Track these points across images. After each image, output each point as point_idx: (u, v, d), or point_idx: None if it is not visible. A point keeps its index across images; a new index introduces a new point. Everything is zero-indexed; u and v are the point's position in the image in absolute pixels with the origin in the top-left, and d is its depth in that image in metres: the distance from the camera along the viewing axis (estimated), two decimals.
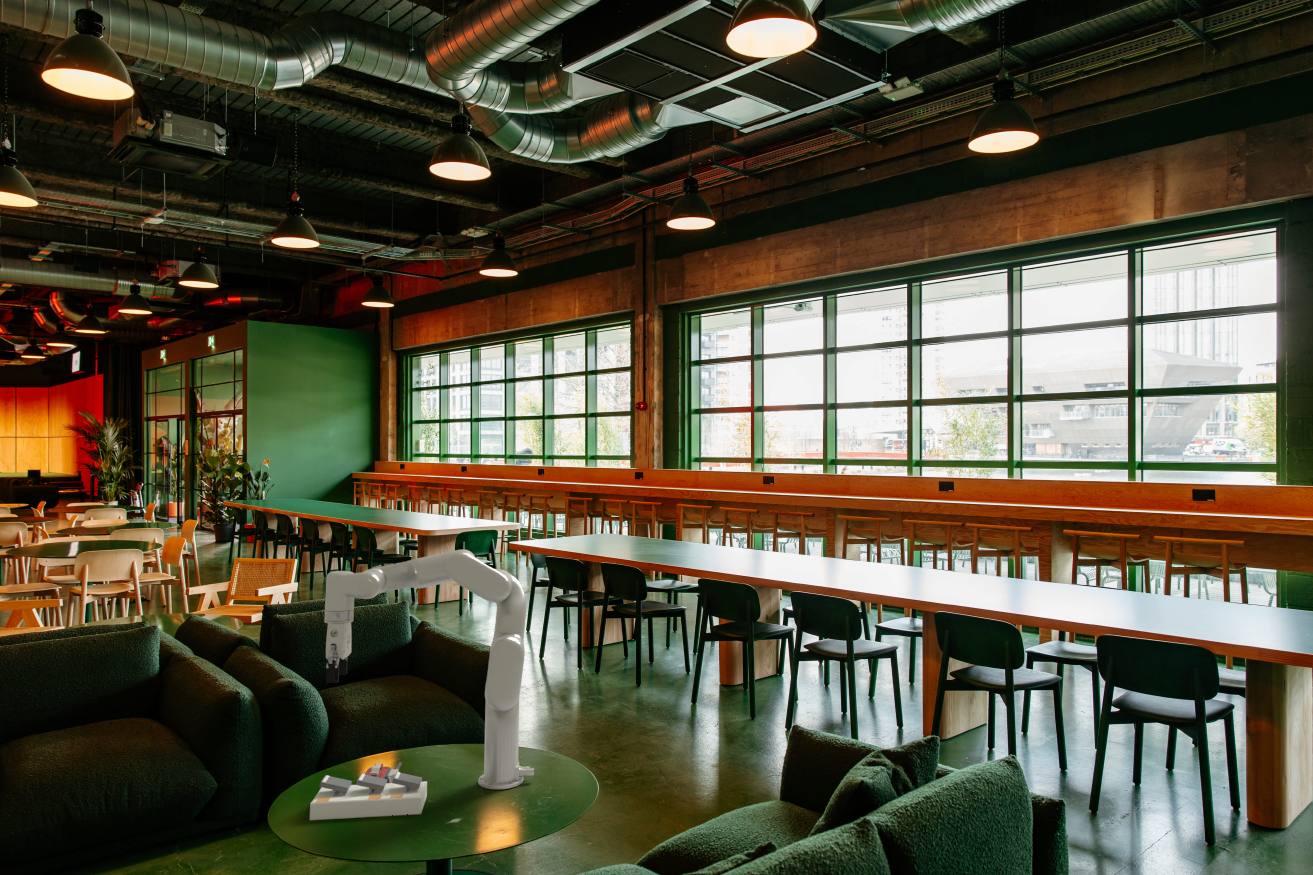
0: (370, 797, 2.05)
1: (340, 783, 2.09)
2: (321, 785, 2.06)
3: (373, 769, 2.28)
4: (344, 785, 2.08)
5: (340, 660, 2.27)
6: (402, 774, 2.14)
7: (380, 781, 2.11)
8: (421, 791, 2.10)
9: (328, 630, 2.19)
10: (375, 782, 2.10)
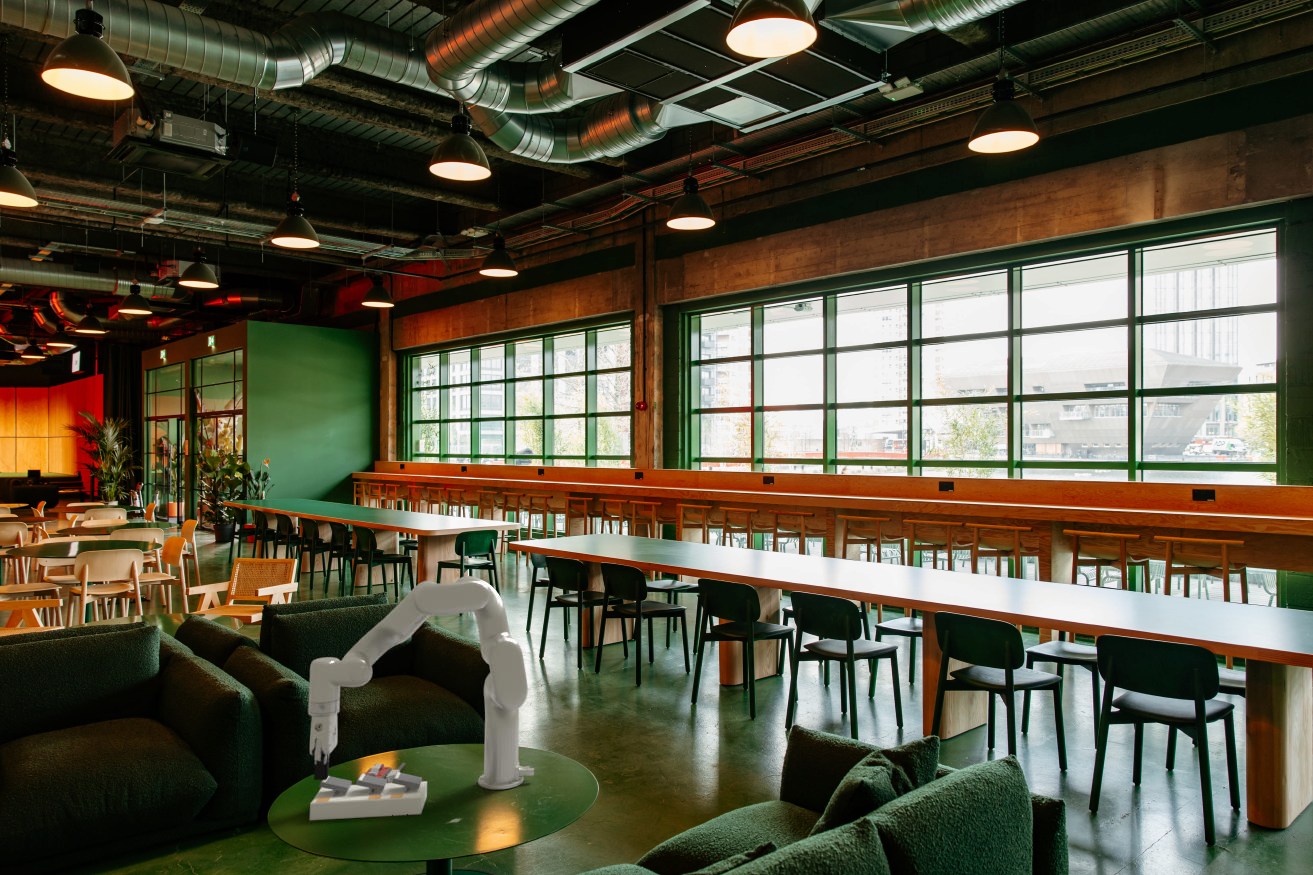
0: (370, 797, 2.05)
1: (340, 783, 2.09)
2: (321, 785, 2.06)
3: (372, 769, 2.27)
4: (344, 785, 2.08)
5: None
6: (402, 774, 2.14)
7: (380, 781, 2.11)
8: (421, 791, 2.10)
9: (312, 723, 2.05)
10: (375, 782, 2.10)
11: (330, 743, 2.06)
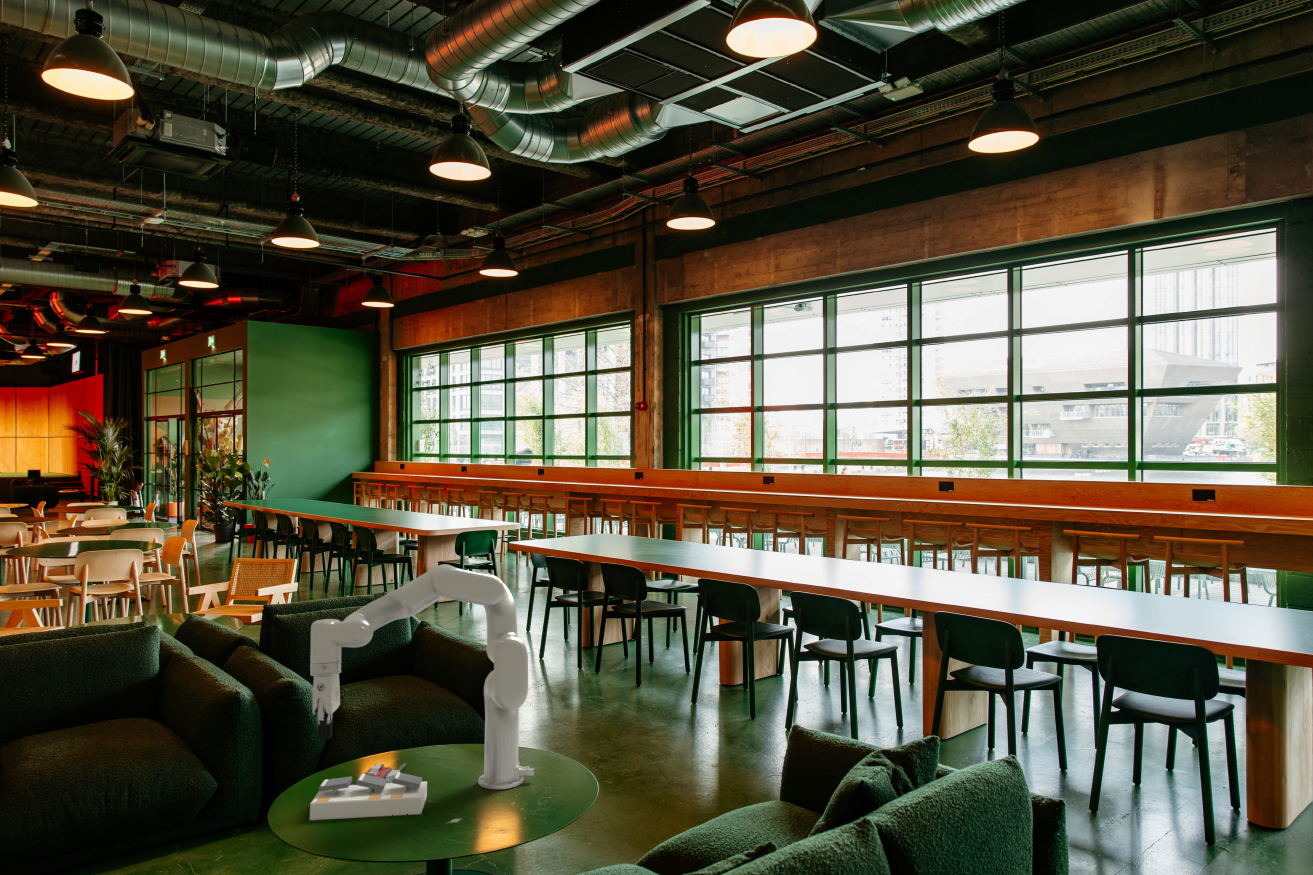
0: (370, 797, 2.05)
1: (340, 781, 2.09)
2: (321, 789, 2.06)
3: (372, 769, 2.27)
4: (344, 782, 2.08)
5: None
6: (402, 774, 2.14)
7: (380, 781, 2.11)
8: (421, 791, 2.10)
9: (314, 684, 2.06)
10: (375, 782, 2.10)
11: (333, 703, 2.07)
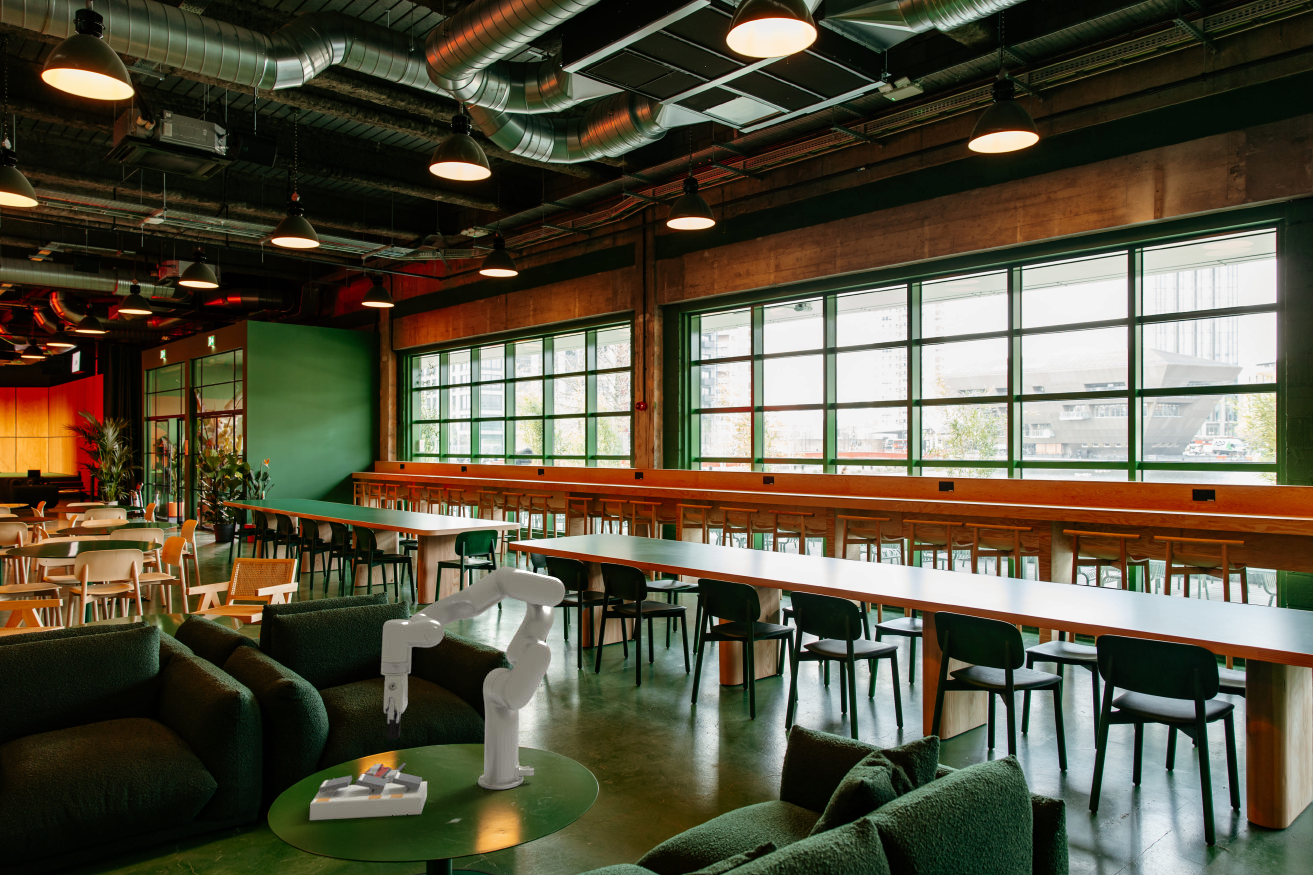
0: (370, 797, 2.05)
1: (340, 781, 2.09)
2: (321, 790, 2.06)
3: (371, 769, 2.27)
4: (343, 781, 2.08)
5: None
6: (402, 774, 2.14)
7: (380, 781, 2.11)
8: (421, 791, 2.10)
9: (386, 683, 2.09)
10: (375, 782, 2.10)
11: (403, 702, 2.10)
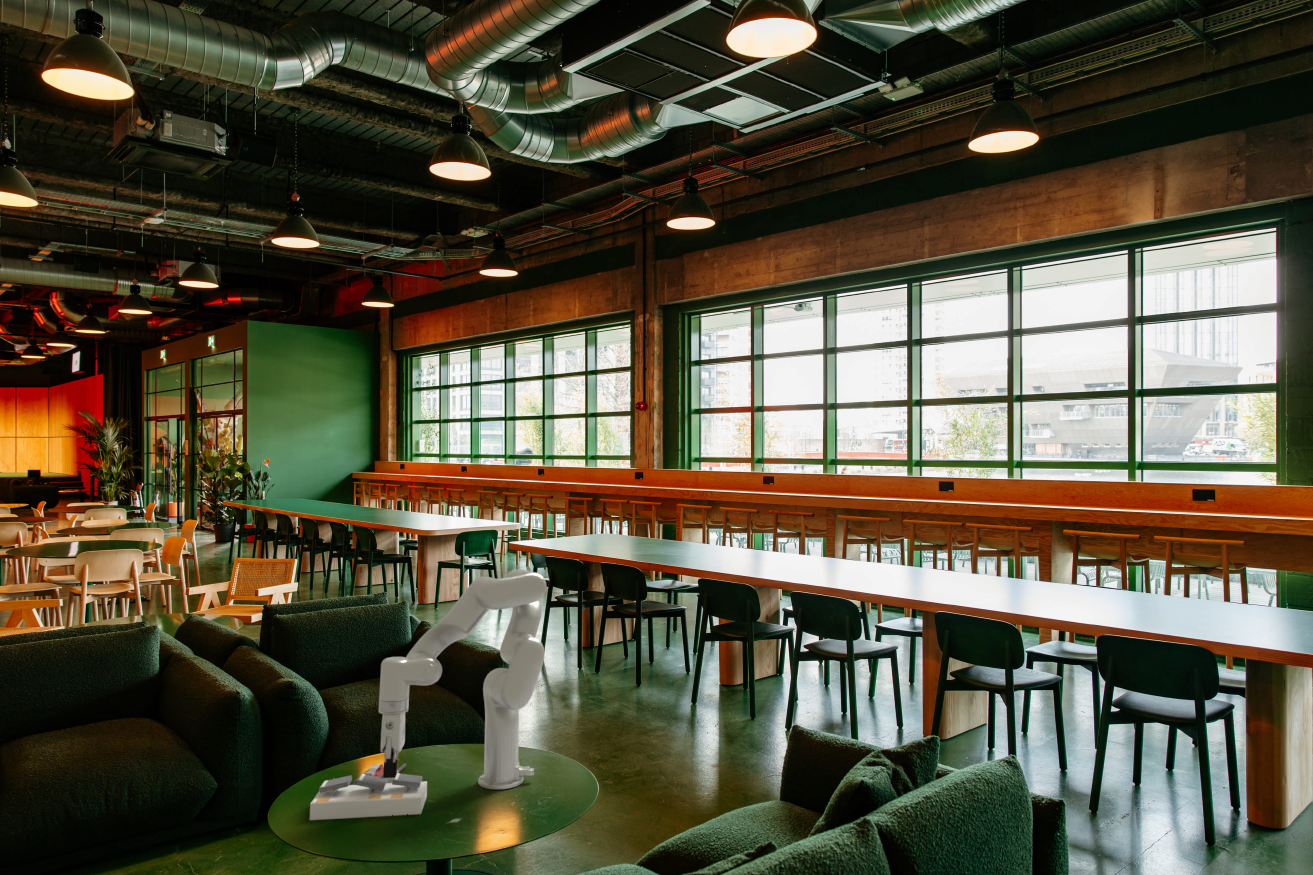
0: (370, 797, 2.05)
1: (340, 781, 2.09)
2: (321, 790, 2.06)
3: (370, 769, 2.27)
4: (343, 781, 2.08)
5: None
6: (402, 775, 2.14)
7: (380, 781, 2.11)
8: (421, 791, 2.10)
9: (383, 722, 2.08)
10: (375, 782, 2.10)
11: (400, 741, 2.09)
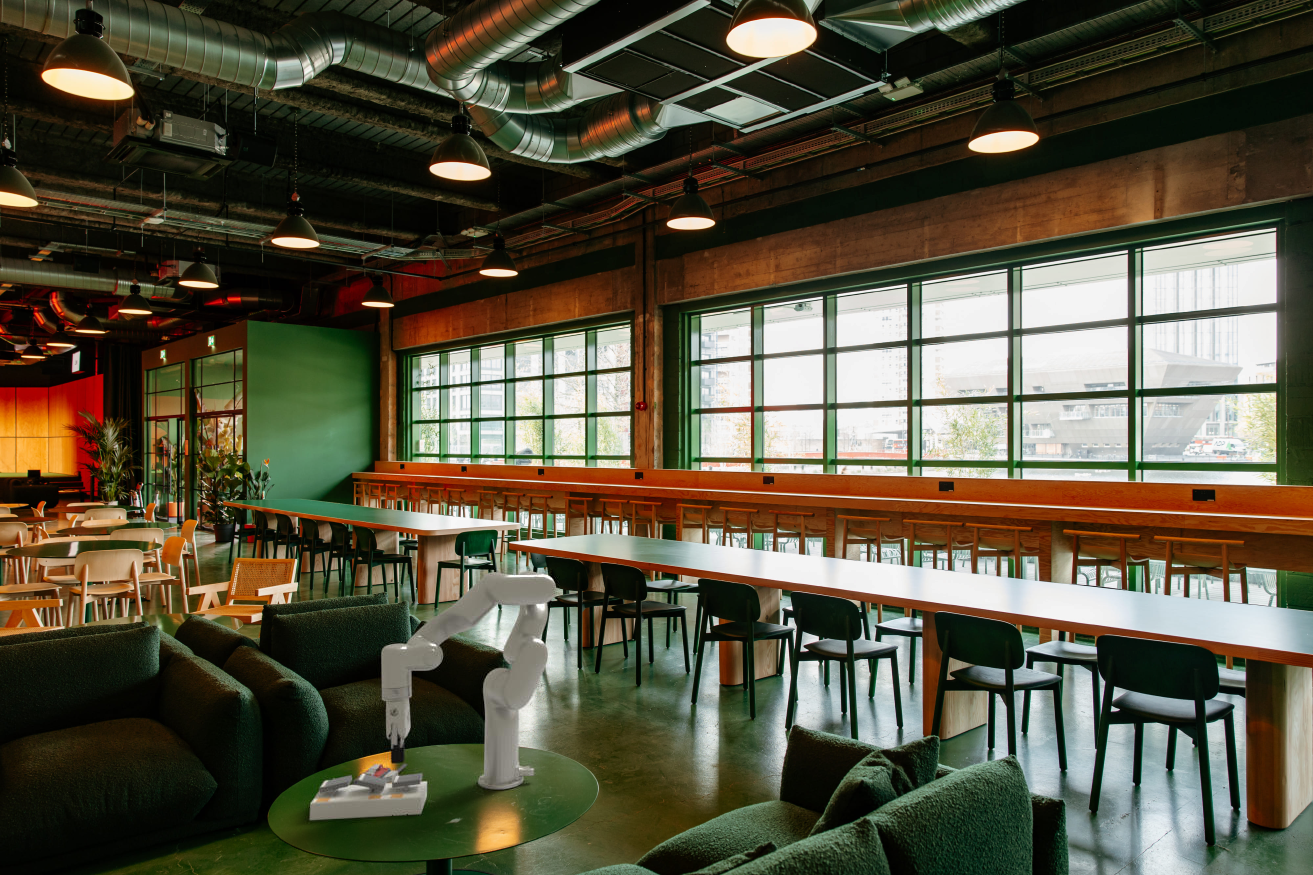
0: (370, 797, 2.05)
1: (340, 781, 2.09)
2: (321, 790, 2.06)
3: (370, 769, 2.27)
4: (343, 781, 2.08)
5: None
6: (401, 776, 2.14)
7: (380, 781, 2.11)
8: (421, 791, 2.10)
9: (387, 709, 2.09)
10: (375, 782, 2.10)
11: (405, 727, 2.10)
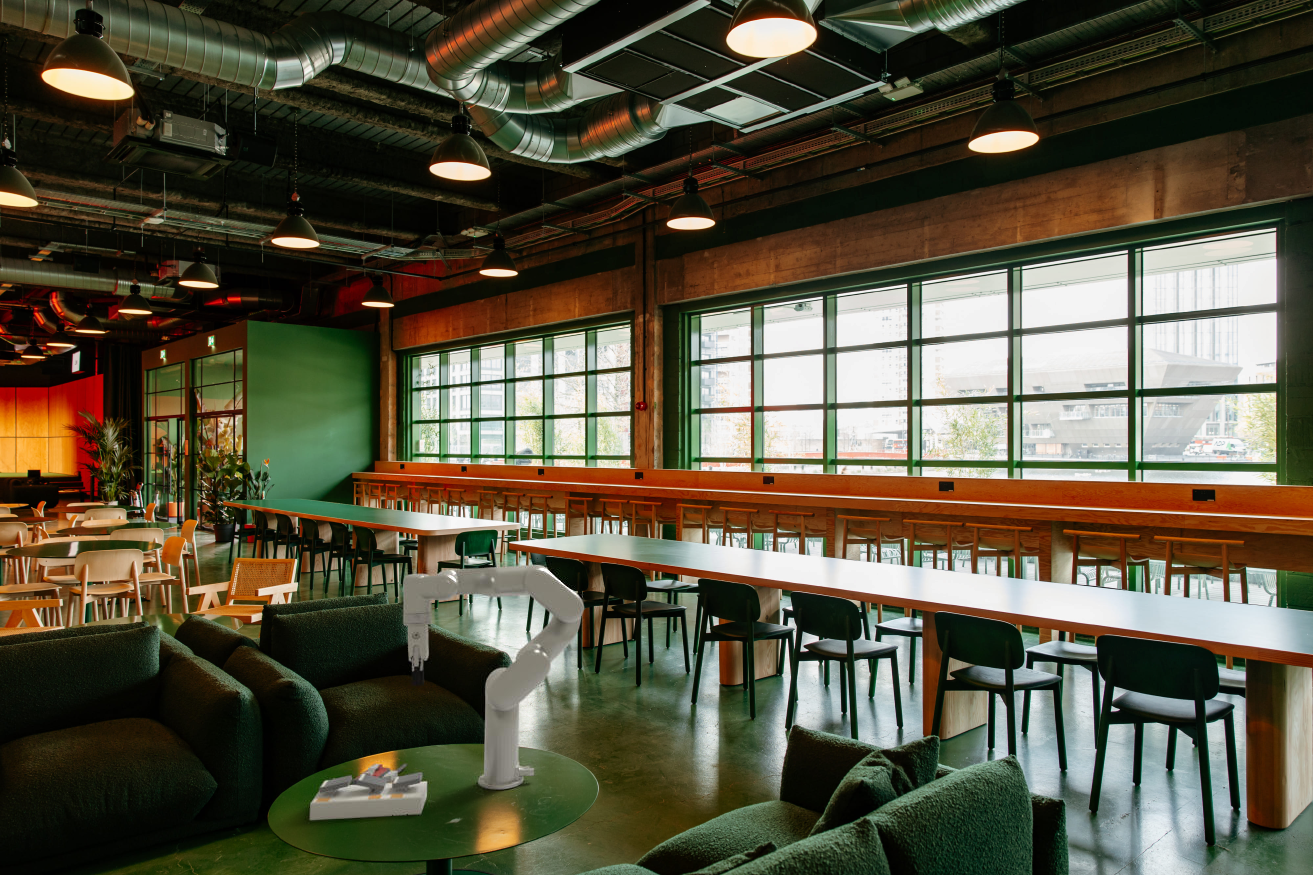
0: (370, 797, 2.05)
1: (340, 781, 2.09)
2: (321, 790, 2.06)
3: (369, 769, 2.27)
4: (343, 781, 2.08)
5: None
6: (401, 777, 2.14)
7: (380, 781, 2.11)
8: (421, 791, 2.10)
9: (410, 632, 2.22)
10: (375, 782, 2.10)
11: (426, 650, 2.23)
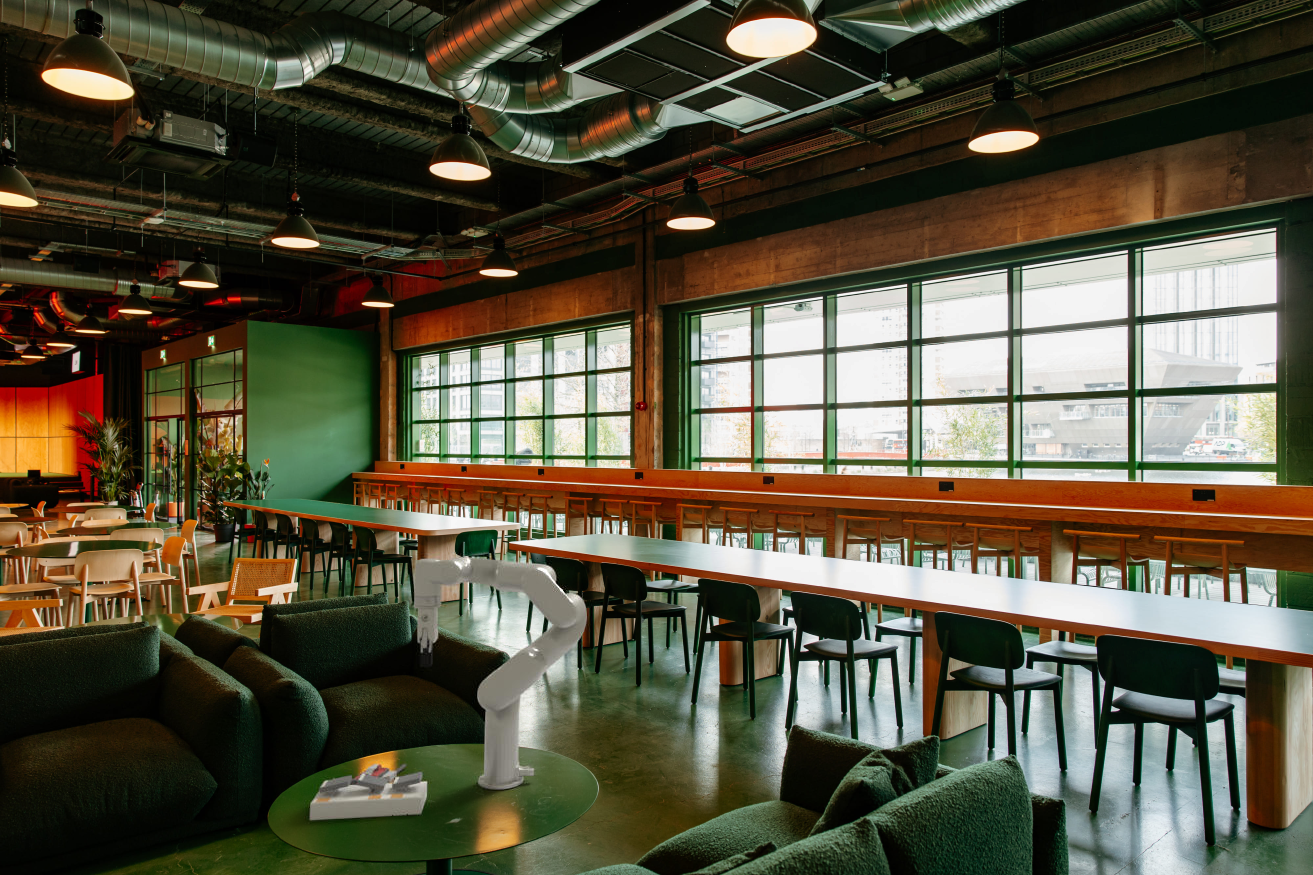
0: (370, 797, 2.05)
1: (340, 781, 2.09)
2: (321, 790, 2.06)
3: (368, 769, 2.27)
4: (343, 781, 2.08)
5: None
6: (401, 777, 2.14)
7: (380, 781, 2.11)
8: (421, 791, 2.10)
9: (419, 615, 2.28)
10: (375, 782, 2.10)
11: (435, 633, 2.30)
